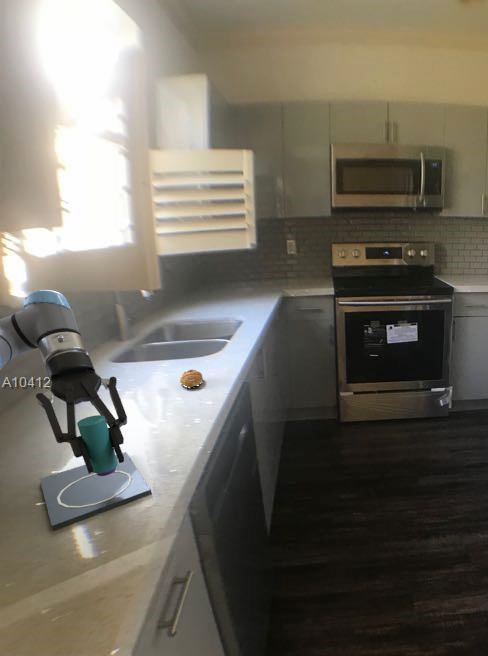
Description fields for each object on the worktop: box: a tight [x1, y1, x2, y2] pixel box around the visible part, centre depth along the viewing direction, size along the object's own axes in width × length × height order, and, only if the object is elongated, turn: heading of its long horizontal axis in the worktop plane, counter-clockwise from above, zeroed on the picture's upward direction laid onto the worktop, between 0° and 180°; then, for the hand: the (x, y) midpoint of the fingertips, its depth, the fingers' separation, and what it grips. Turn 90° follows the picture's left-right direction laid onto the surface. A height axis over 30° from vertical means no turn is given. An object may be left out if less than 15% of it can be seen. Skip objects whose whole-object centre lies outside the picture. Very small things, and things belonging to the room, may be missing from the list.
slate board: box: [39, 451, 153, 531], centre depth 91 cm, size 20×16×1 cm
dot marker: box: [76, 414, 118, 476], centre depth 86 cm, size 4×4×11 cm
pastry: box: [179, 369, 204, 388], centre depth 143 cm, size 9×7×4 cm
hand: (106, 465), depth 84 cm, fingers closed on dot marker, 4 cm apart
